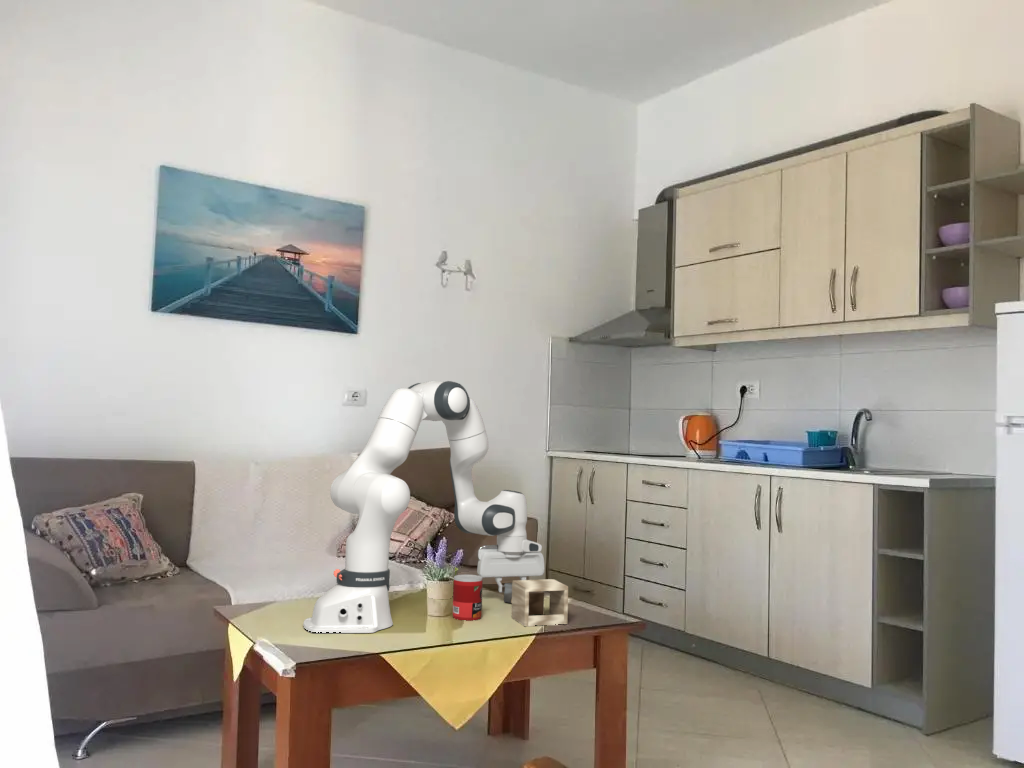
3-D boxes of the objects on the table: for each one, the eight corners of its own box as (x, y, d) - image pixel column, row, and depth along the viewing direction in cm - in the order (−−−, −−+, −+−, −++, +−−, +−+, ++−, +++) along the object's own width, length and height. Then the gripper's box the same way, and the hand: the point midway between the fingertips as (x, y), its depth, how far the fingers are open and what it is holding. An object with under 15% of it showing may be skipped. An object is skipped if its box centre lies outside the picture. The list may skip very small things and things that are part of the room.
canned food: (477, 622, 226) (479, 580, 227) (448, 619, 228) (450, 578, 229) (484, 616, 234) (485, 575, 234) (456, 614, 235) (457, 573, 236)
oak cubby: (524, 626, 222) (525, 587, 223) (511, 617, 233) (512, 580, 233) (567, 624, 226) (568, 586, 227) (552, 615, 236) (553, 579, 237)
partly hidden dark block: (523, 615, 235) (524, 593, 236) (498, 600, 254) (499, 579, 254) (543, 614, 238) (544, 592, 238) (517, 599, 256) (518, 579, 256)
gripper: (480, 546, 248) (479, 594, 247) (547, 545, 254) (545, 592, 254) (475, 543, 254) (473, 590, 253) (539, 542, 260) (538, 588, 259)
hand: (510, 591), depth 253 cm, fingers closed on partly hidden dark block, 4 cm apart
